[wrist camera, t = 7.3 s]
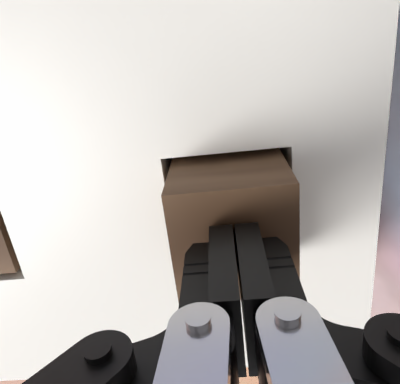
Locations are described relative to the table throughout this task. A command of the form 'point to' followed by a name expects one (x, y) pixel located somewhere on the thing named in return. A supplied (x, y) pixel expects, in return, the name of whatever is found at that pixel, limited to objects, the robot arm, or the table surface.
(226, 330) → the robot arm
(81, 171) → the housing
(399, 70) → the table surface
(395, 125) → the table surface
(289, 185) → the peg
